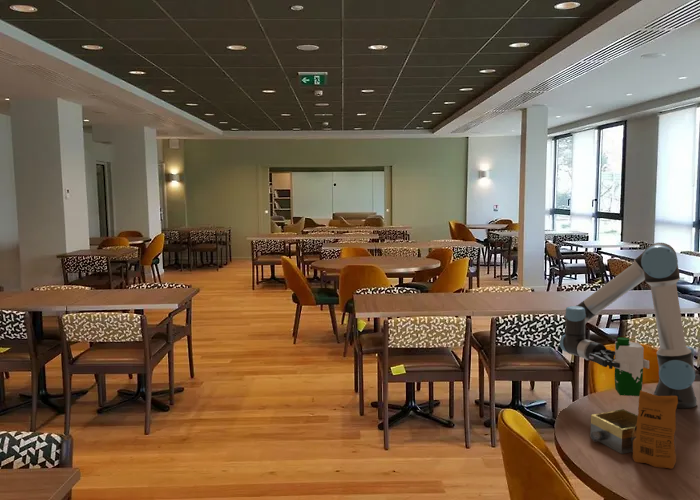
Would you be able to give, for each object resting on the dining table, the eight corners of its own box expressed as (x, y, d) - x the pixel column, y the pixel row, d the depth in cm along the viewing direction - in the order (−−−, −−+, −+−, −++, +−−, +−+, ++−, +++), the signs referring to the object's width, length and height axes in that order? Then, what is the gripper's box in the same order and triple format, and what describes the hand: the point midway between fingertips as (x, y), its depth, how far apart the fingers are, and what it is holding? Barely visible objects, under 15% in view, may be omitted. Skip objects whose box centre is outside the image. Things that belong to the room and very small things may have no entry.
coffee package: (634, 450, 195) (637, 385, 193) (677, 459, 188) (680, 392, 186) (629, 462, 187) (631, 394, 185) (674, 472, 180) (677, 401, 178)
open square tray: (622, 431, 211) (623, 409, 210) (654, 447, 197) (655, 423, 197) (583, 438, 205) (584, 415, 204) (614, 455, 192) (614, 431, 191)
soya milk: (612, 388, 222) (613, 335, 220) (638, 389, 220) (639, 336, 218) (617, 396, 213) (619, 341, 211) (644, 397, 211) (646, 342, 209)
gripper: (614, 357, 236) (661, 372, 215) (569, 364, 229) (614, 380, 208) (614, 338, 235) (661, 352, 214) (570, 344, 228) (614, 359, 207)
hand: (638, 366), depth 211 cm, fingers closed on soya milk, 8 cm apart
